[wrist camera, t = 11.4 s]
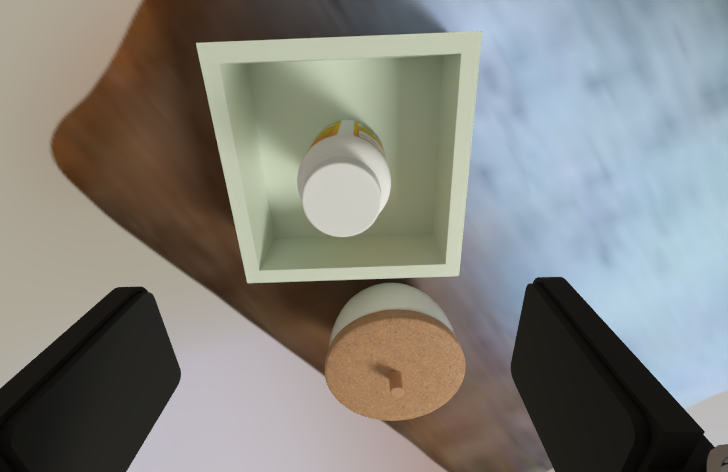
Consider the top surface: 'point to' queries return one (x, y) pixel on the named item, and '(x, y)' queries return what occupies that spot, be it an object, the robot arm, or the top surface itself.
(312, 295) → the top surface
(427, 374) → the lidded jar
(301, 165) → the supplement bottle
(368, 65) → the bin
